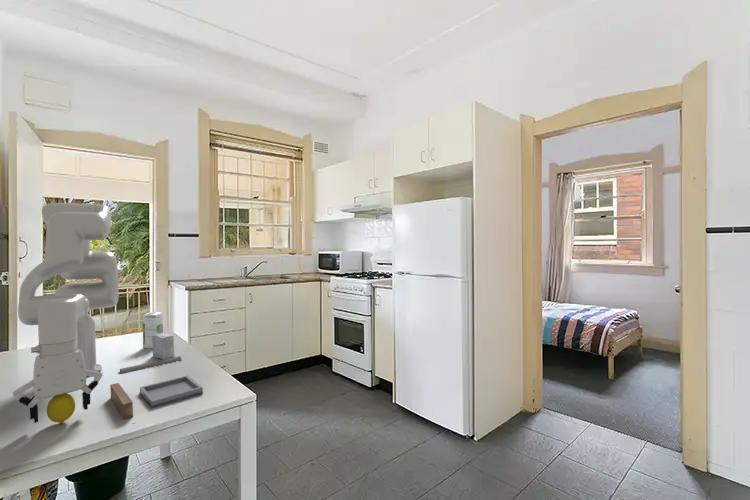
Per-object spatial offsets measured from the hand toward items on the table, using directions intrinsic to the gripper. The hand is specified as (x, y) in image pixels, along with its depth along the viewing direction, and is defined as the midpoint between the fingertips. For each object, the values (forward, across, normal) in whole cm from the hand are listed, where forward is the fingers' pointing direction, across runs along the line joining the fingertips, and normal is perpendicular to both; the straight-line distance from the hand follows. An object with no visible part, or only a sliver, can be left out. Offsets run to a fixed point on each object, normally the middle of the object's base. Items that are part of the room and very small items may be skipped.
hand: (61, 414), depth 95 cm
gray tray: (+2, +26, 0) cm, 26 cm away
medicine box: (+3, +34, +40) cm, 53 cm away
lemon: (+3, 0, 0) cm, 3 cm away
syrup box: (+2, +35, +58) cm, 68 cm away
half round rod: (+3, +28, +32) cm, 42 cm away
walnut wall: (+2, +13, 0) cm, 13 cm away
